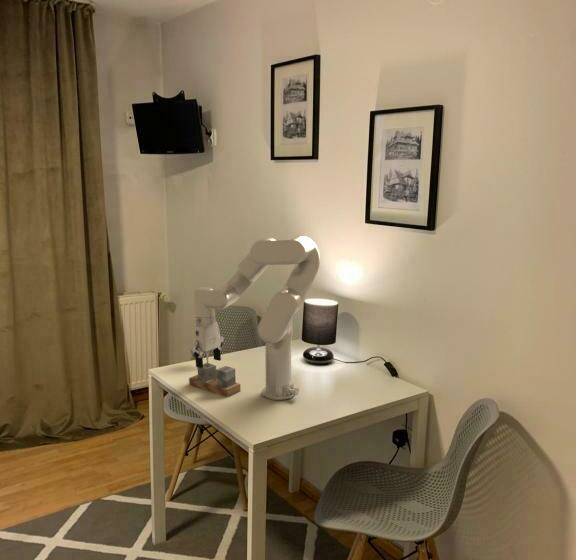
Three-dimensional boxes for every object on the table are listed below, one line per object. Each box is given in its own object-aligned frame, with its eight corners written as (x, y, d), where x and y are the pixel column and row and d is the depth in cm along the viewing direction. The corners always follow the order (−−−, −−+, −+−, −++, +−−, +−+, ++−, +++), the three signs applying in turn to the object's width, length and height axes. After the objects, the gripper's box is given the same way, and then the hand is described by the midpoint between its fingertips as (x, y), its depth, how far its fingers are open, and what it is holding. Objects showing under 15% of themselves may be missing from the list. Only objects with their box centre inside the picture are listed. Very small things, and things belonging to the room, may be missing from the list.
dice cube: (206, 381, 213) (205, 369, 212) (197, 378, 216) (197, 366, 215) (216, 378, 216) (216, 365, 216) (207, 375, 220) (207, 362, 219)
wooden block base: (240, 391, 212) (240, 368, 210) (228, 397, 206) (227, 374, 205) (202, 380, 224) (201, 358, 222) (189, 385, 218) (188, 363, 216)
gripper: (196, 326, 203) (199, 372, 206) (228, 316, 217) (231, 358, 220) (181, 324, 208) (185, 368, 211) (214, 314, 221) (216, 355, 224)
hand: (208, 363), depth 215 cm, fingers open, 9 cm apart
